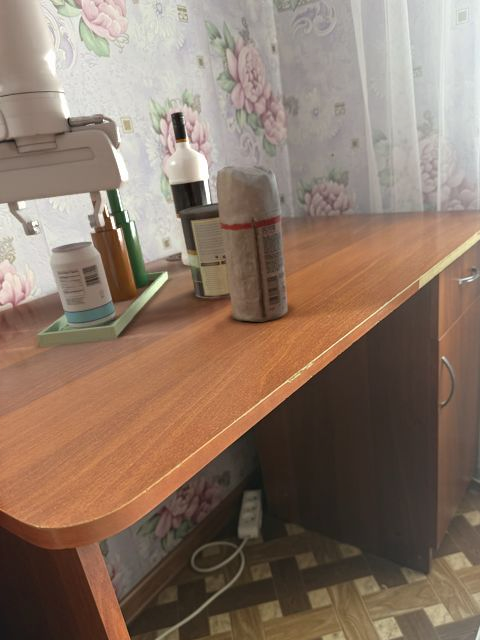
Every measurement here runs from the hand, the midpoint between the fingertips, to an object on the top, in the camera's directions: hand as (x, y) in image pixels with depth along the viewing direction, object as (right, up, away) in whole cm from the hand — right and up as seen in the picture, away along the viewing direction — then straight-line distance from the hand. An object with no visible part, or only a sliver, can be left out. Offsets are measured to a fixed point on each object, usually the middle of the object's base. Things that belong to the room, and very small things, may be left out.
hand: (65, 230), depth 70 cm
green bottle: (+3, -5, +25) cm, 26 cm away
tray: (+3, -10, +14) cm, 17 cm away
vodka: (+15, +2, +39) cm, 42 cm away
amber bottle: (+3, -8, +18) cm, 20 cm away
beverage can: (+2, -13, +5) cm, 14 cm away
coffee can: (+21, -7, +15) cm, 27 cm away
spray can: (+27, -12, +1) cm, 30 cm away
